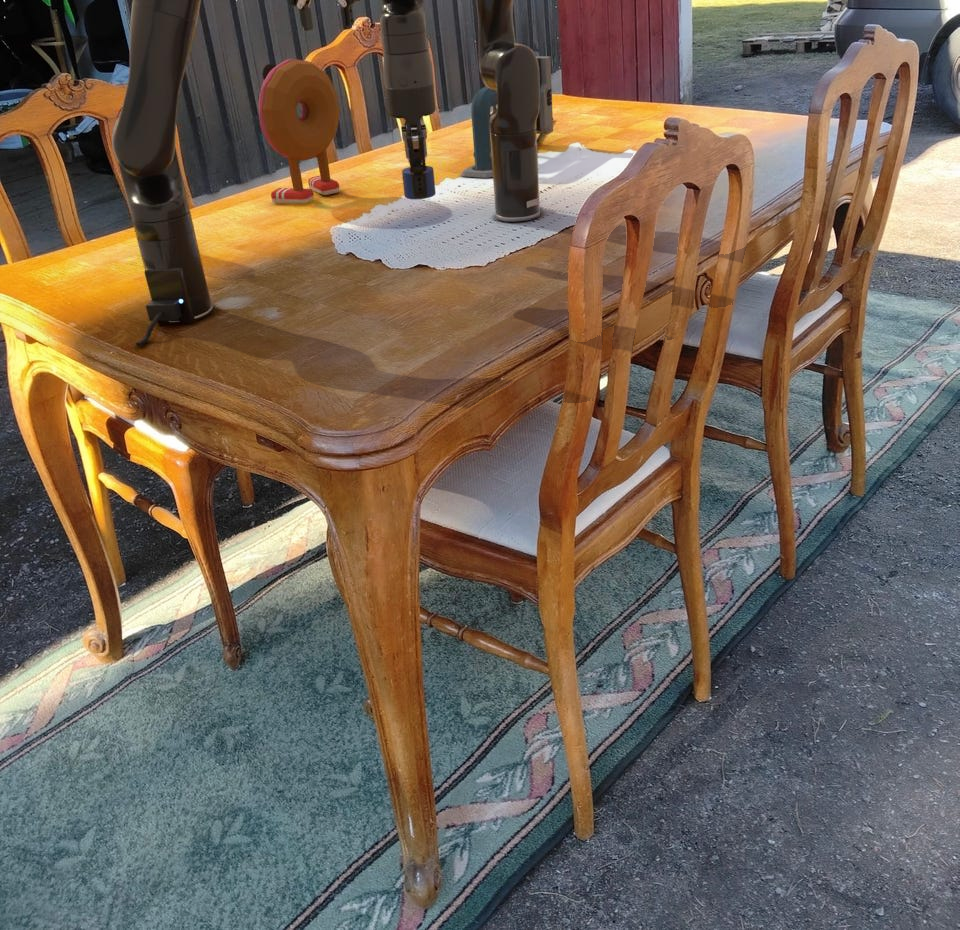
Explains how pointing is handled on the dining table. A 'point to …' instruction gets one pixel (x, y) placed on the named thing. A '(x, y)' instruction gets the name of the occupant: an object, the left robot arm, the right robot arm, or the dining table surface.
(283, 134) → the toy
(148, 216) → the left robot arm
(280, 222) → the dining table surface
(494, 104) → the clamp
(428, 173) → the canister
